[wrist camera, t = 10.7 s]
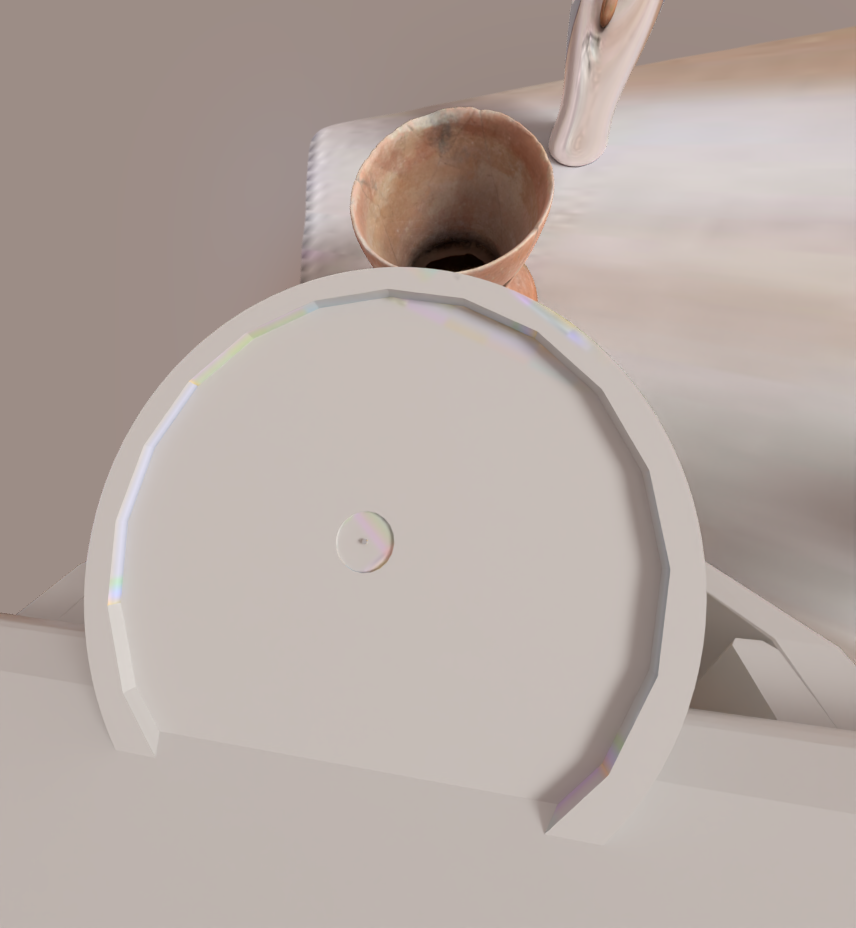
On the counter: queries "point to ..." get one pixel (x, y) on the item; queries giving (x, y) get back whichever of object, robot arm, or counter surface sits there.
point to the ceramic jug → (455, 197)
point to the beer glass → (598, 73)
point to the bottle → (404, 549)
